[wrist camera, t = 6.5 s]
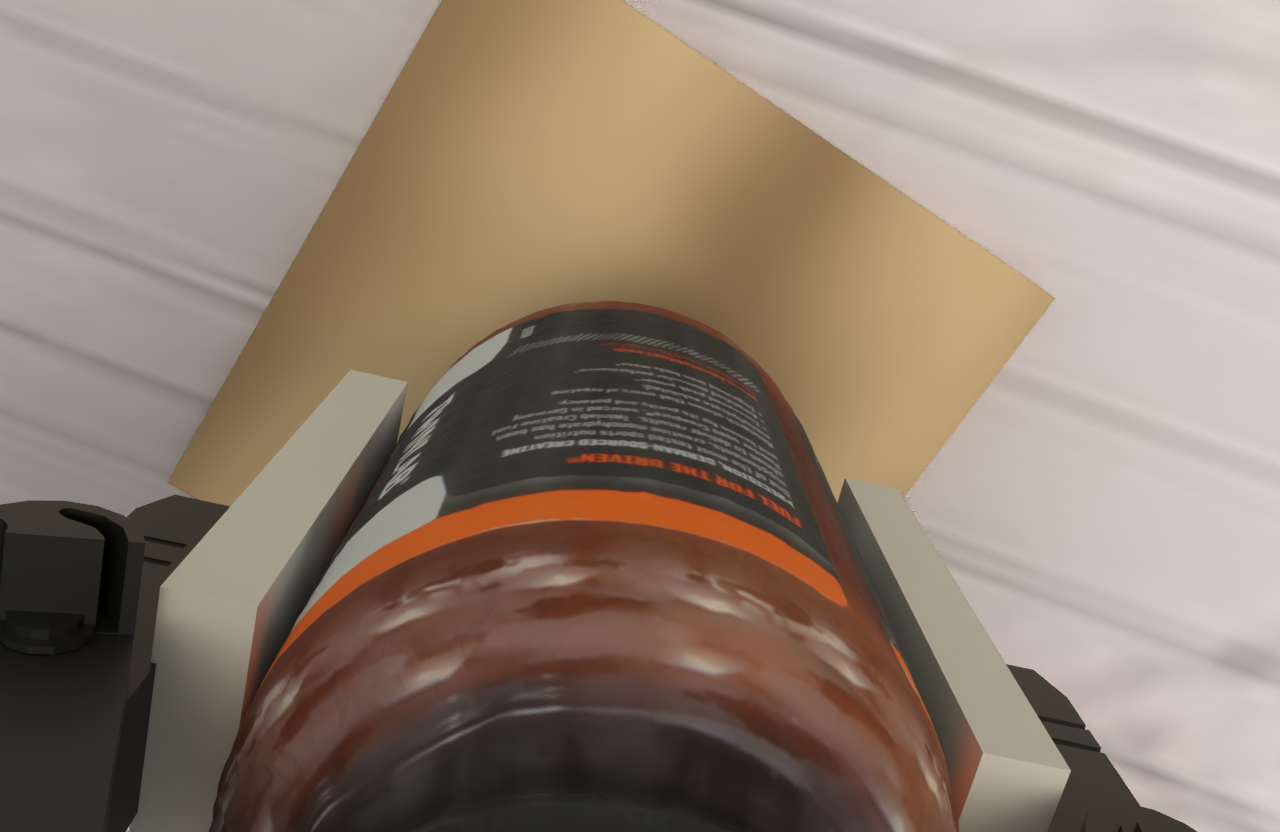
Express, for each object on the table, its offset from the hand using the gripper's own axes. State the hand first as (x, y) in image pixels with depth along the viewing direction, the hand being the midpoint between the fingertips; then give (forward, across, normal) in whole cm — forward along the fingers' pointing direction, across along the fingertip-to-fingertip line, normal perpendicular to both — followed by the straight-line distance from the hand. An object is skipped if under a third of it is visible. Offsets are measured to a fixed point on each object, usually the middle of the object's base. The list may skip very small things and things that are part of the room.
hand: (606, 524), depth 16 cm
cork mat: (+7, 0, 0) cm, 7 cm away
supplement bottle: (+2, 0, 0) cm, 2 cm away
